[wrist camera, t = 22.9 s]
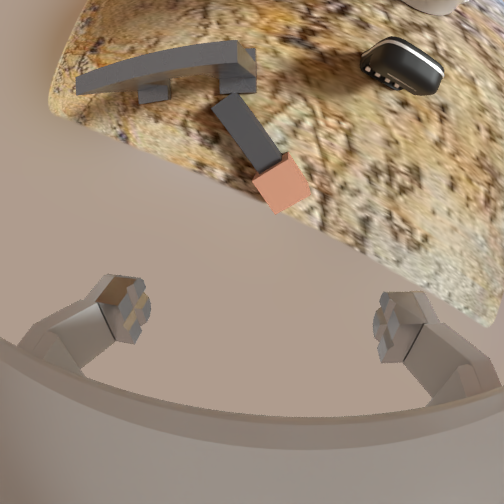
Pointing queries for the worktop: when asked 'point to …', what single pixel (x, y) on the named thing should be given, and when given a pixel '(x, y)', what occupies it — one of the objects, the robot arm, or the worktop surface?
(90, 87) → the grey arch stand
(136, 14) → the worktop surface
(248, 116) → the plug
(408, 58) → the battery charger
